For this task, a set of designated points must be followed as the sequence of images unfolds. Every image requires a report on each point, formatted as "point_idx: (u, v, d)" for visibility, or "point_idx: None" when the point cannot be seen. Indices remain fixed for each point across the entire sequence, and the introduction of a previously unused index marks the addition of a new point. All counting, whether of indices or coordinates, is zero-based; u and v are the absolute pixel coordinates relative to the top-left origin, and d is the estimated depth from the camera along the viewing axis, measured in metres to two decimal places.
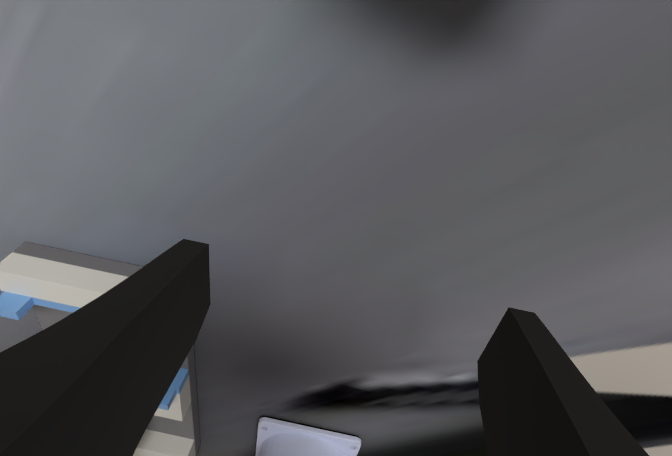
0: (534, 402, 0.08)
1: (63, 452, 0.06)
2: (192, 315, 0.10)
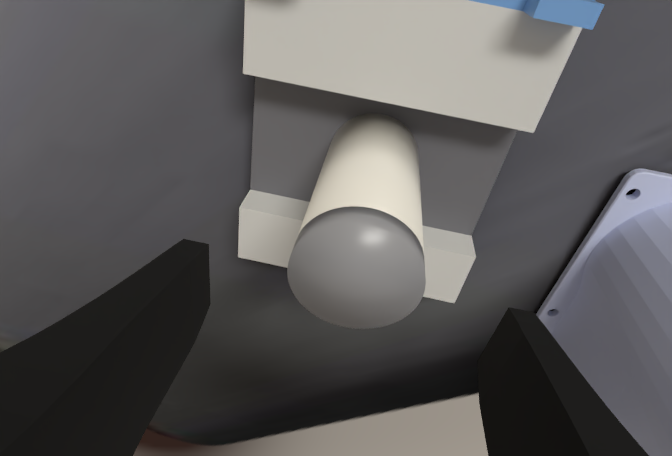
0: (534, 402, 0.08)
1: (63, 452, 0.06)
2: (192, 315, 0.10)
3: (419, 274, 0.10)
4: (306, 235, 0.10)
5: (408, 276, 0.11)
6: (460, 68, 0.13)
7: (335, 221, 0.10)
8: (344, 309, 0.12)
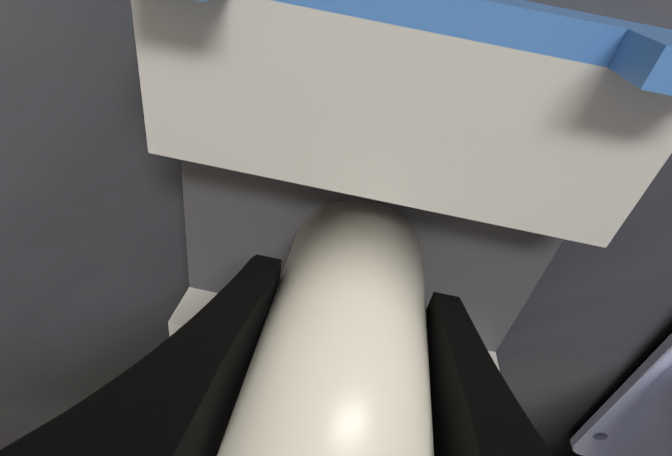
0: (443, 382, 0.08)
1: None
2: None
3: None
4: None
5: None
6: (492, 153, 0.08)
7: None
8: None
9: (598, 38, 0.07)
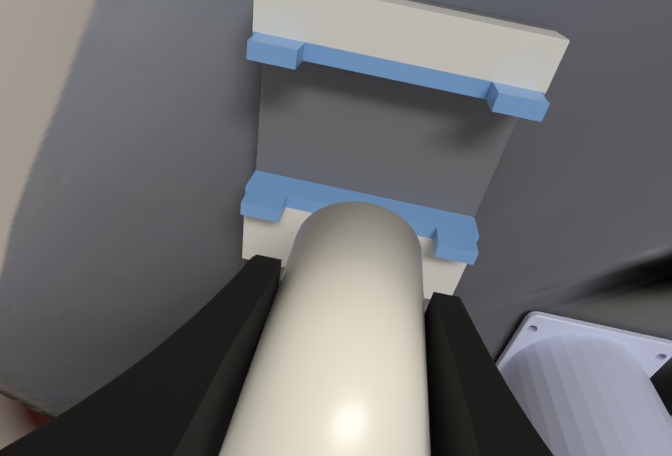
0: (442, 382, 0.08)
1: None
2: None
3: None
4: None
5: None
6: None
7: None
8: None
9: (426, 229, 0.18)
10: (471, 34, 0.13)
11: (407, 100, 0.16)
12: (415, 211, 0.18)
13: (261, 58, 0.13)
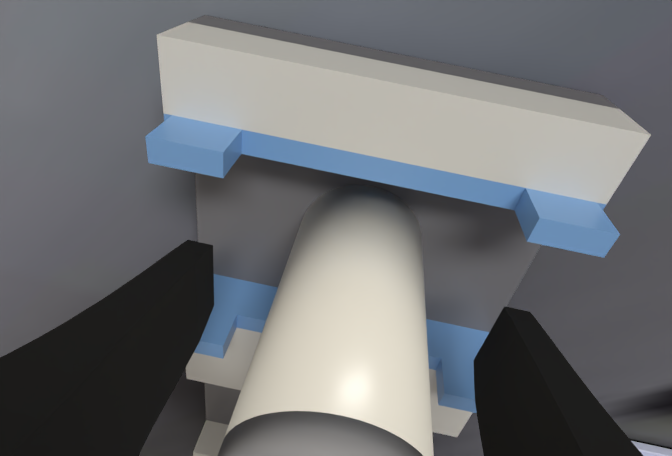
0: (528, 401, 0.08)
1: (70, 454, 0.06)
2: (196, 316, 0.10)
3: None
4: None
5: None
6: None
7: (277, 454, 0.06)
8: None
9: None
10: (495, 123, 0.09)
11: (399, 194, 0.11)
12: None
13: (169, 162, 0.09)
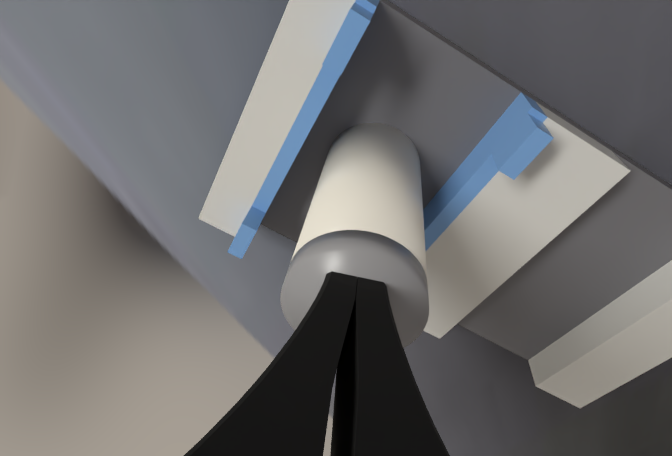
0: (350, 363, 0.08)
1: None
2: (341, 347, 0.10)
3: (360, 257, 0.09)
4: (289, 321, 0.11)
5: (360, 266, 0.09)
6: (524, 214, 0.15)
7: None
8: None
9: (489, 165, 0.14)
10: (275, 67, 0.13)
11: (343, 129, 0.16)
12: (470, 162, 0.15)
13: (242, 249, 0.16)
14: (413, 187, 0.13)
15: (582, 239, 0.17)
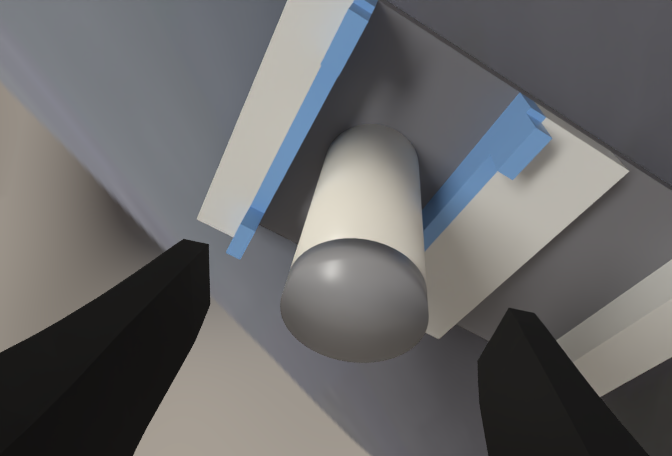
0: (534, 402, 0.08)
1: (63, 452, 0.06)
2: (192, 315, 0.10)
3: (360, 266, 0.09)
4: (290, 328, 0.11)
5: (359, 275, 0.09)
6: (522, 215, 0.15)
7: None
8: (389, 336, 0.10)
9: (487, 165, 0.14)
10: (274, 67, 0.13)
11: (341, 129, 0.15)
12: (469, 162, 0.15)
13: (241, 250, 0.16)
14: (412, 191, 0.13)
15: (581, 239, 0.17)
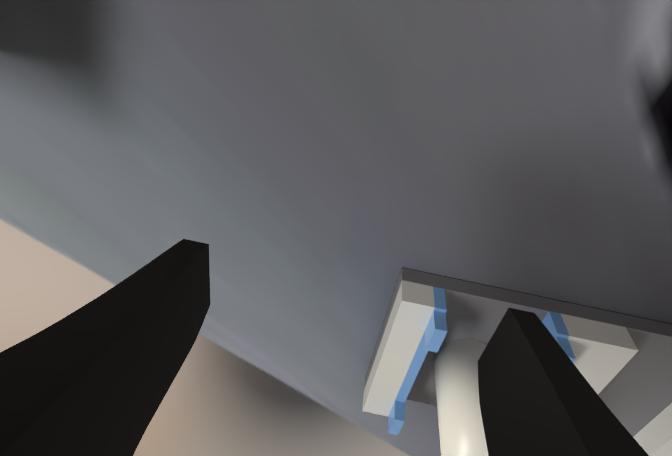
0: (534, 402, 0.08)
1: (63, 452, 0.06)
2: (192, 315, 0.10)
3: None
4: None
5: None
6: None
7: None
8: None
9: None
10: (395, 340, 0.22)
11: None
12: None
13: (397, 430, 0.25)
14: None
15: (629, 372, 0.24)
